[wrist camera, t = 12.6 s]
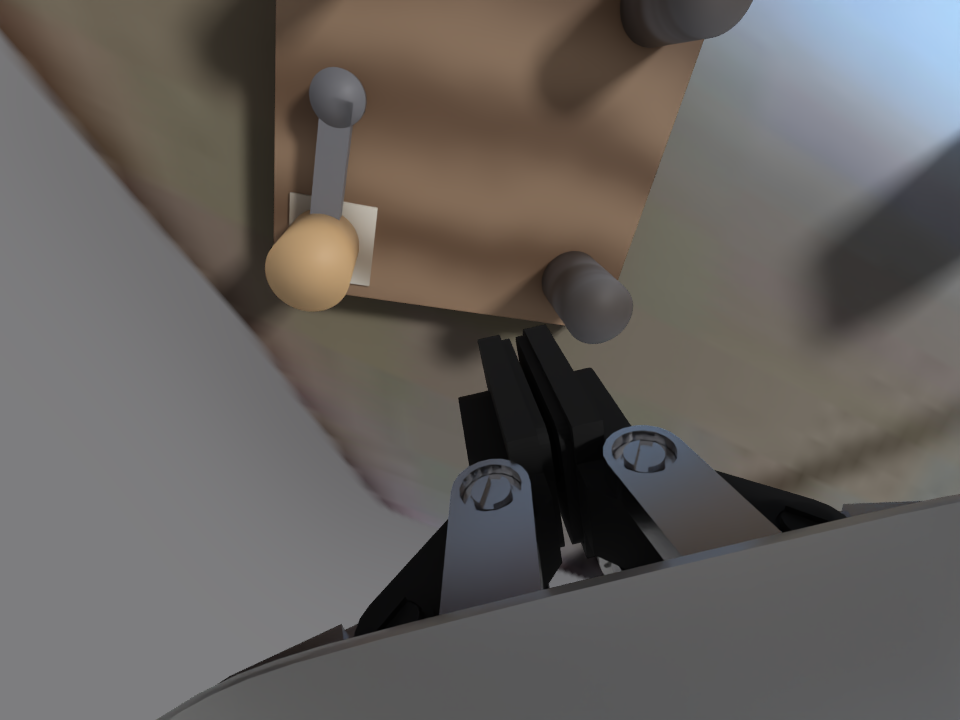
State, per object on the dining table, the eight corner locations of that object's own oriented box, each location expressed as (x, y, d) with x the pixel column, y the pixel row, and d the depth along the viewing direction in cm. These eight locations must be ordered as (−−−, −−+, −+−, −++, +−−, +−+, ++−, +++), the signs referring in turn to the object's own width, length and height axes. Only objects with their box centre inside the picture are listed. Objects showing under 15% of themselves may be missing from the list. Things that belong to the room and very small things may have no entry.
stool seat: (584, 311, 34) (631, 369, 27) (284, 267, 29) (248, 321, 22) (703, -43, 25) (819, -94, 18) (294, -184, 20) (237, -325, 13)
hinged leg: (302, 56, 21) (276, 48, 17) (383, 80, 22) (378, 78, 18) (286, 268, 26) (263, 303, 22) (354, 281, 27) (344, 317, 22)
